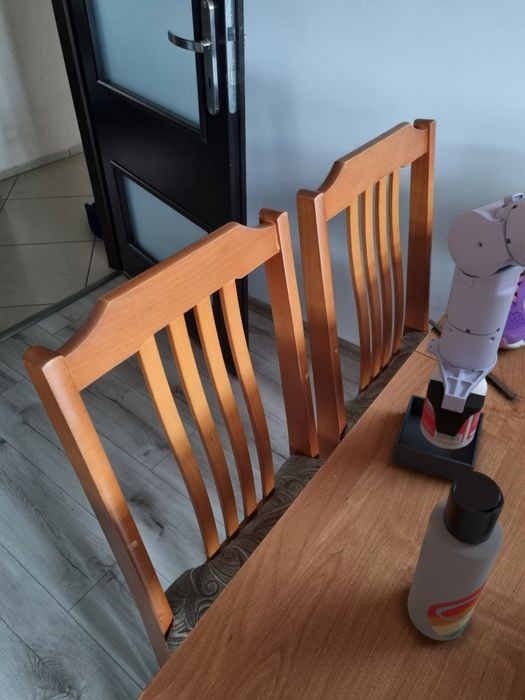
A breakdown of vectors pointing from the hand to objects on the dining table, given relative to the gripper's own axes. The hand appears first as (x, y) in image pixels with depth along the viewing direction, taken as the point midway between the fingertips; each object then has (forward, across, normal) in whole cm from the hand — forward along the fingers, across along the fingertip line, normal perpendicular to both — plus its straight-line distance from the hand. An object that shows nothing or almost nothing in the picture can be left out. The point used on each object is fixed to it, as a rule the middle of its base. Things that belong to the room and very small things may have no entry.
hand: (451, 411), depth 64 cm
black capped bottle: (+7, +20, +3) cm, 22 cm away
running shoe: (+8, -32, +4) cm, 33 cm away
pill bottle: (+4, 0, 0) cm, 4 cm away
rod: (+7, -18, 0) cm, 20 cm away
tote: (+7, 0, -1) cm, 7 cm away
